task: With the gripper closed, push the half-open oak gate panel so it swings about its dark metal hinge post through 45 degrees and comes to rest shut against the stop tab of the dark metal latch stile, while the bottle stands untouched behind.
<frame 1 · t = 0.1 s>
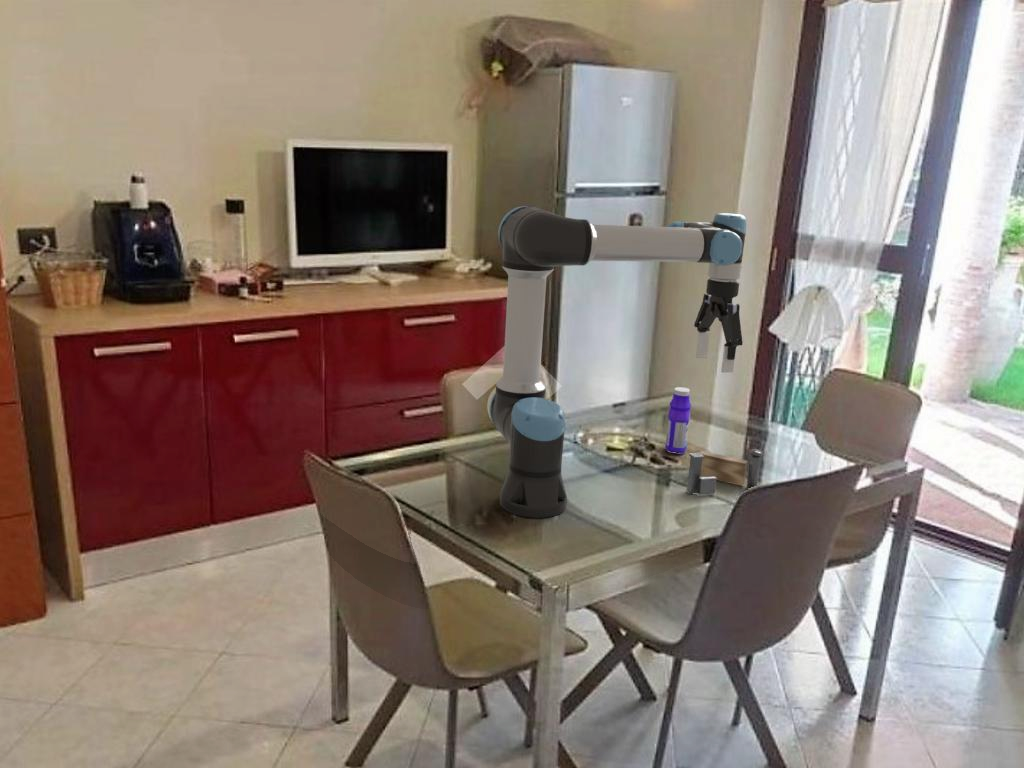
hand: (713, 364, 220), 28 cm above the table, fingers open, 13 cm apart
latch stile: (692, 492, 212), on the table
gate: (719, 467, 220), point 3 cm above the table, hinge at -45.0°
bottle: (675, 451, 240), on the table
hinge post: (751, 488, 217), on the table
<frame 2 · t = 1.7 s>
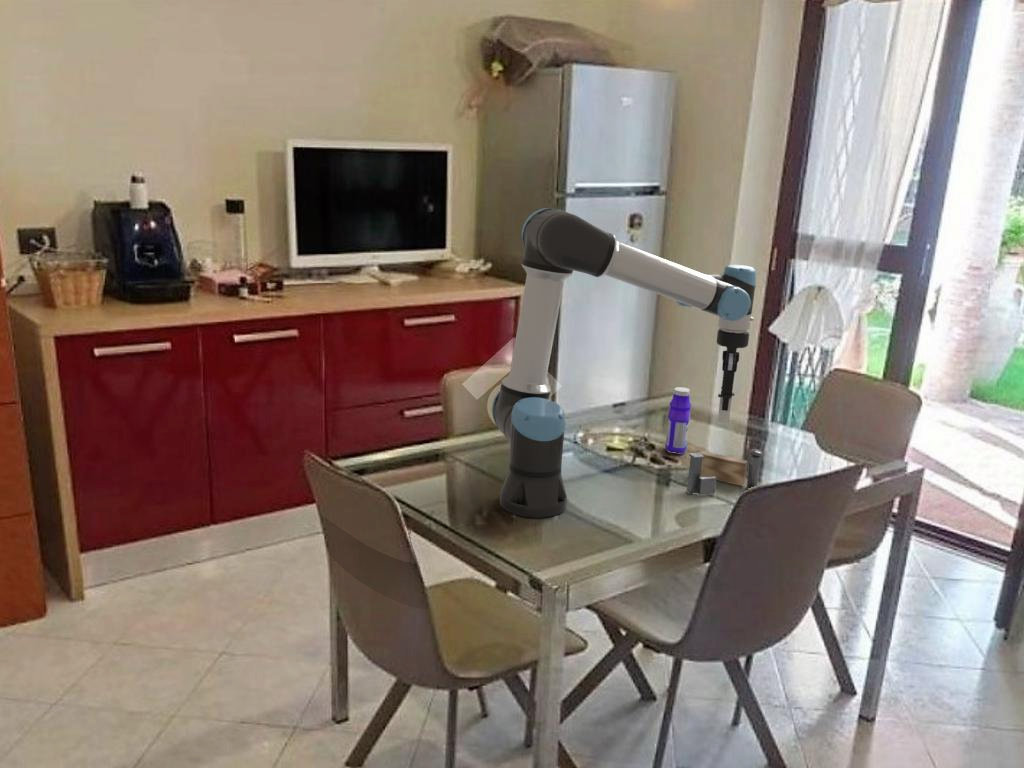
hand: (723, 421, 223), 13 cm above the table, fingers closed
nothing on the table moved.
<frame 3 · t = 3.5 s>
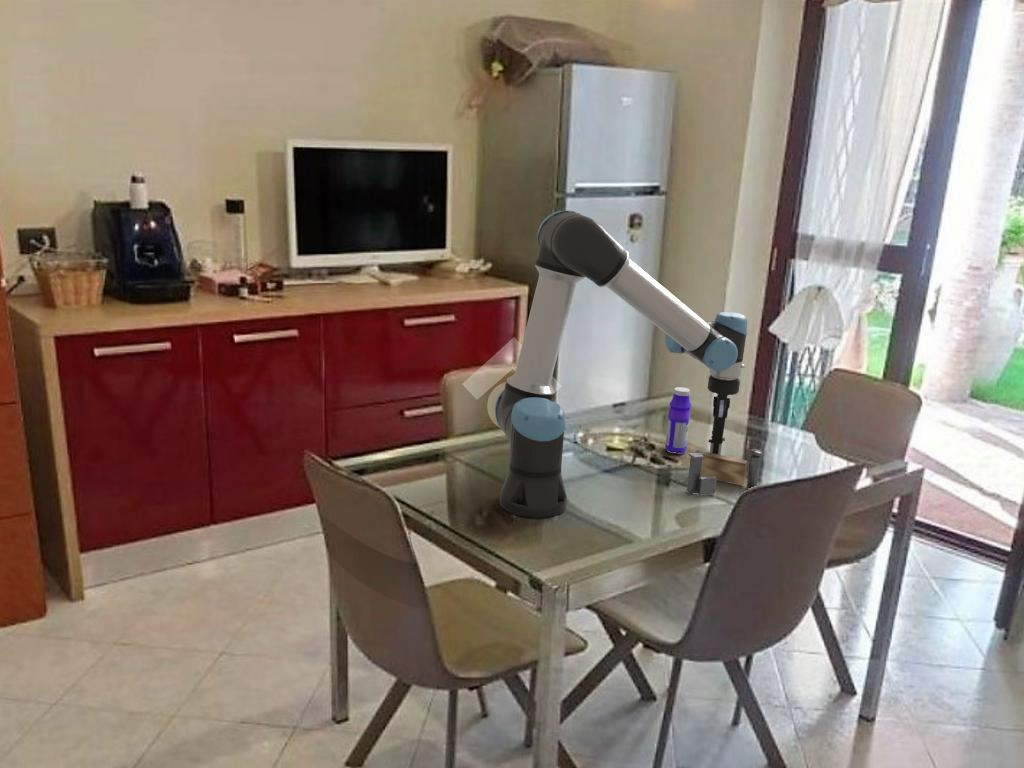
hand: (713, 466, 224), 2 cm above the table, fingers closed
gate: (719, 467, 220), point 3 cm above the table, hinge at -44.9°, touching gripper
everything else where it was.
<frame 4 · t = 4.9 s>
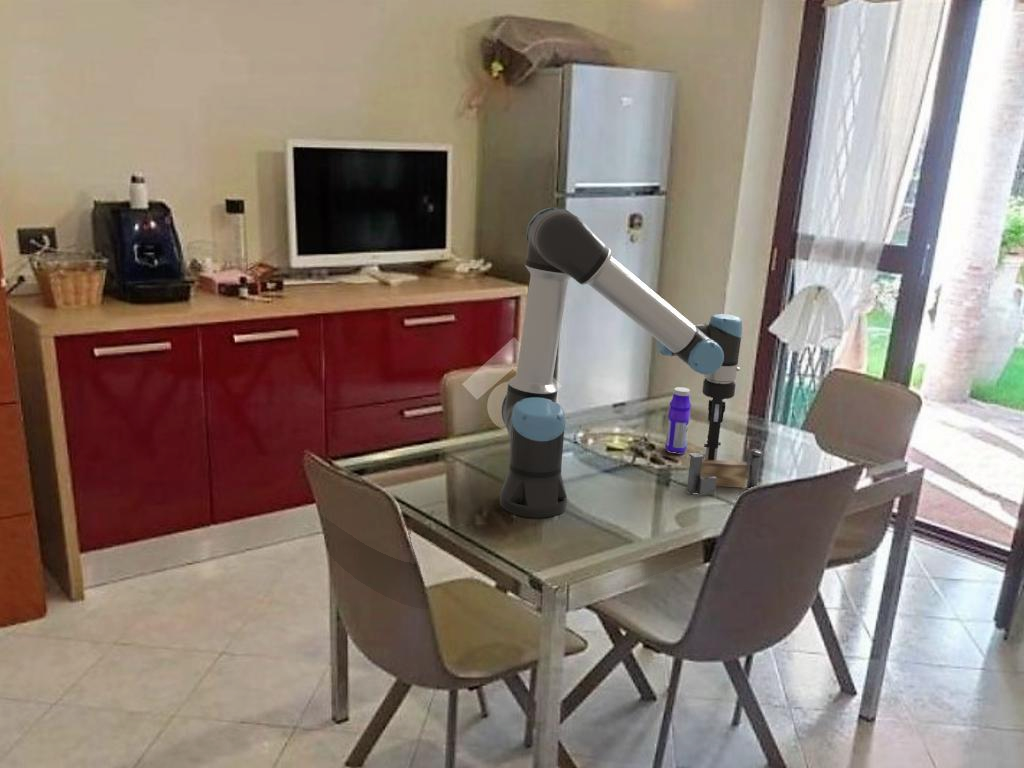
hand: (709, 470, 219), 3 cm above the table, fingers closed
gate: (718, 473, 216), point 3 cm above the table, hinge at -18.2°, touching gripper
everything else where it was.
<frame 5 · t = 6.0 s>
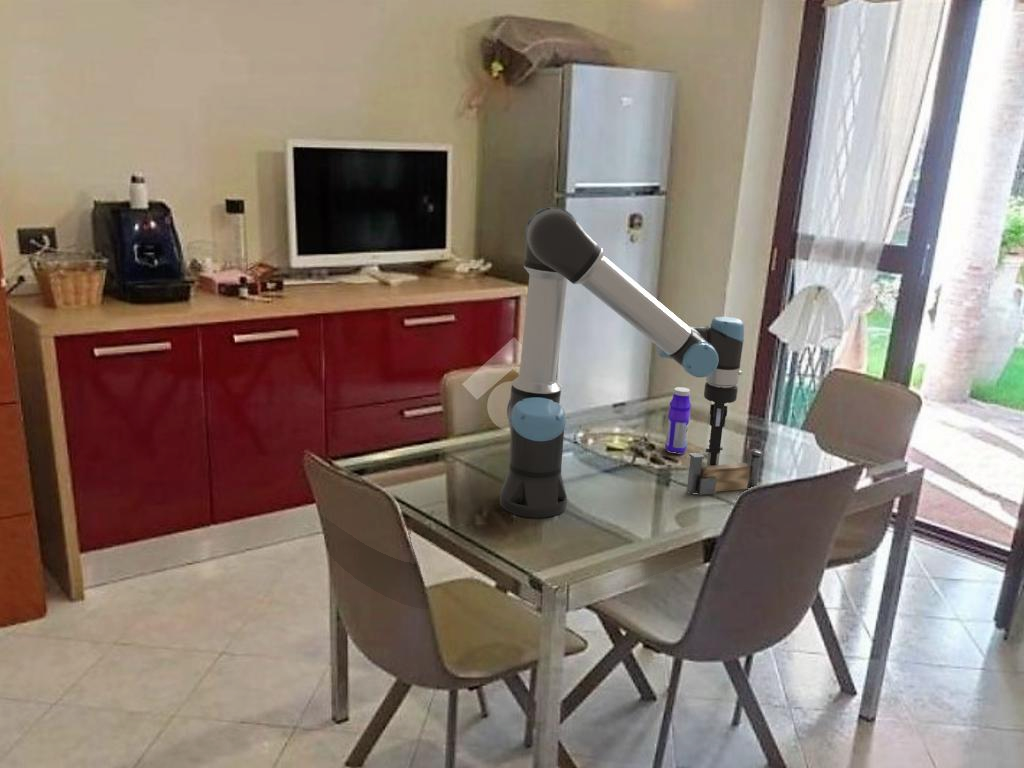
hand: (711, 476, 216), 3 cm above the table, fingers closed
gate: (723, 477, 213), point 3 cm above the table, hinge at 2.1°, touching gripper
everything else where it was.
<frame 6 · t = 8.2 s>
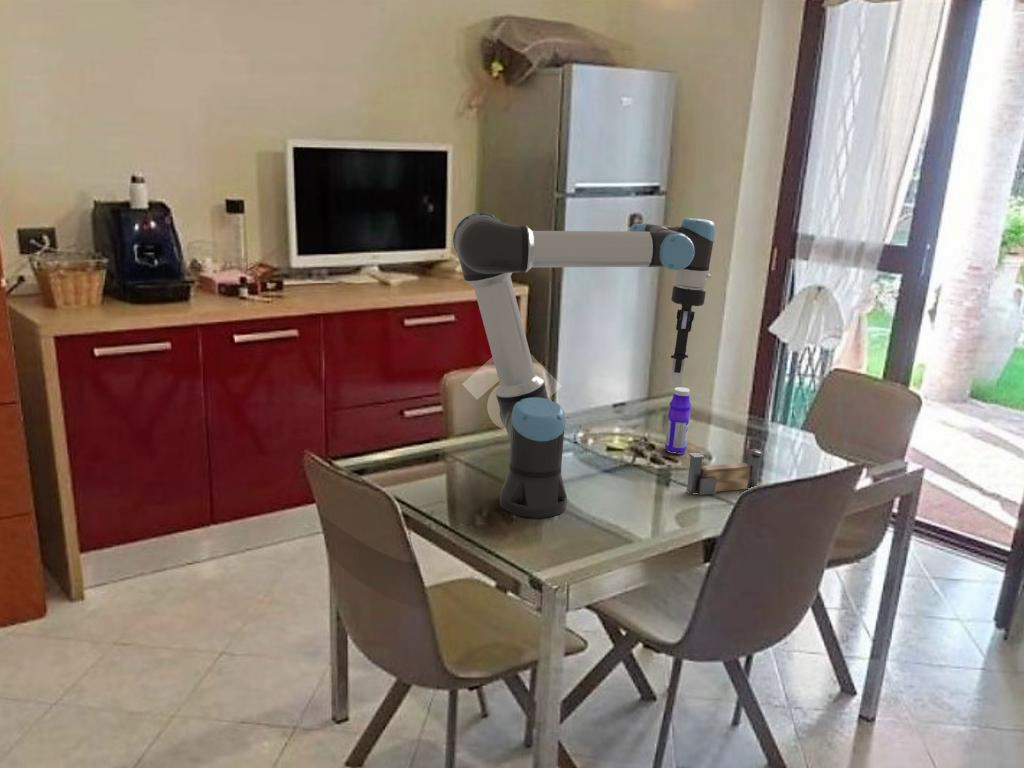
hand: (675, 384, 212), 25 cm above the table, fingers closed
gate: (723, 477, 213), point 3 cm above the table, hinge at 2.1°, touching latch stile
everything else where it was.
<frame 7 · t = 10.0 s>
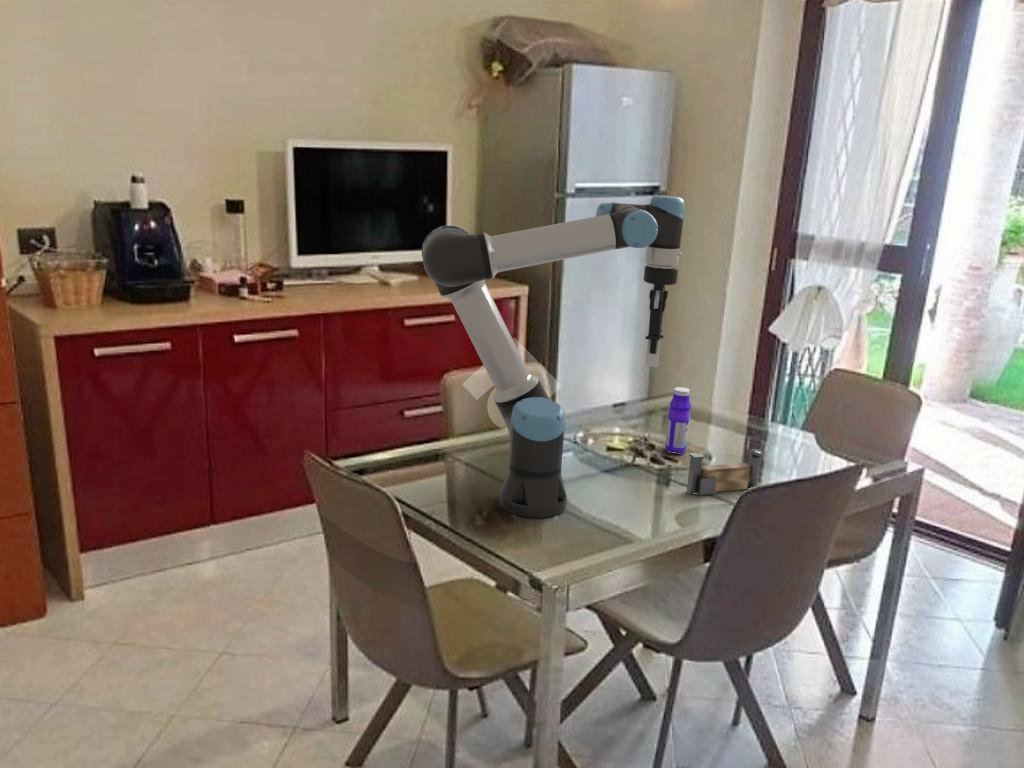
hand: (651, 365, 209), 29 cm above the table, fingers closed
nothing on the table moved.
at the end: gate at +2° (first picture: -45°); bottle moved 0.2 cm from its start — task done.
